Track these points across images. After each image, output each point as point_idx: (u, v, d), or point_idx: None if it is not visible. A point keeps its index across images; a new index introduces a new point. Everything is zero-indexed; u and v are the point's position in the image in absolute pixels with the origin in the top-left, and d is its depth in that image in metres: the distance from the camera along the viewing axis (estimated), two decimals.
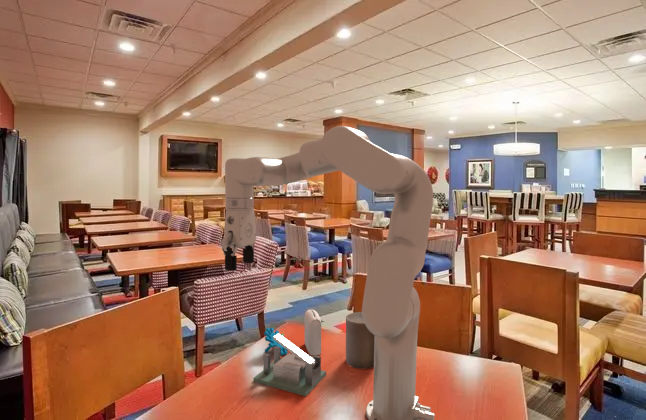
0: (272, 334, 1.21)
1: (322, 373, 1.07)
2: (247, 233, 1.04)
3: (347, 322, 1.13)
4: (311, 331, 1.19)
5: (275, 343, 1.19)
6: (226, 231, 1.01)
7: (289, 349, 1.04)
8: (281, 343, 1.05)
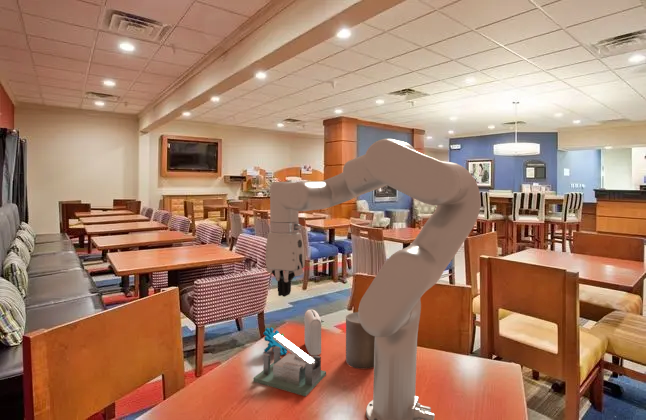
0: (272, 334, 1.21)
1: (322, 373, 1.07)
2: None
3: (347, 322, 1.13)
4: (311, 331, 1.19)
5: (274, 343, 1.19)
6: (298, 255, 1.01)
7: (289, 349, 1.04)
8: (281, 343, 1.05)
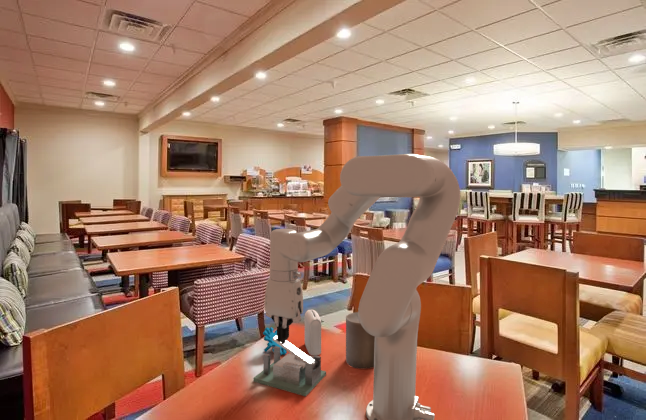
0: (271, 334, 1.21)
1: (322, 373, 1.07)
2: None
3: (347, 322, 1.13)
4: (311, 331, 1.19)
5: (274, 343, 1.19)
6: (297, 303, 1.02)
7: (289, 350, 1.04)
8: (281, 344, 1.05)
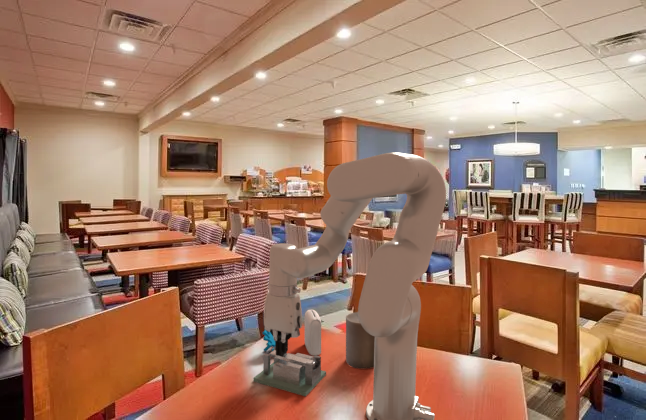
0: (271, 334, 1.22)
1: (322, 373, 1.07)
2: None
3: (347, 322, 1.13)
4: (311, 331, 1.19)
5: (273, 343, 1.19)
6: (295, 318, 1.02)
7: (287, 359, 1.04)
8: (278, 356, 1.06)
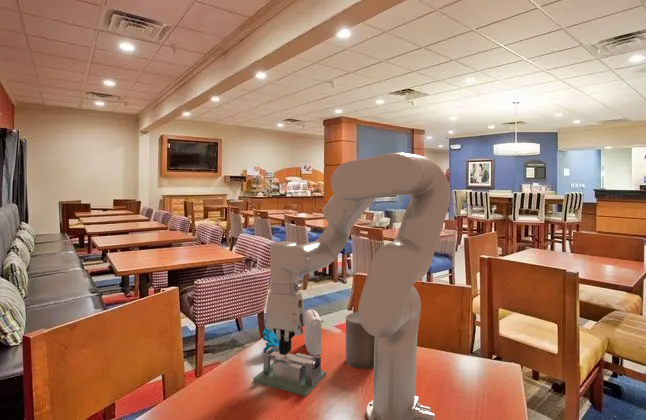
0: (271, 334, 1.22)
1: (322, 373, 1.07)
2: None
3: (347, 322, 1.13)
4: (311, 331, 1.19)
5: (273, 343, 1.19)
6: (298, 316, 1.02)
7: (287, 360, 1.04)
8: (278, 357, 1.06)
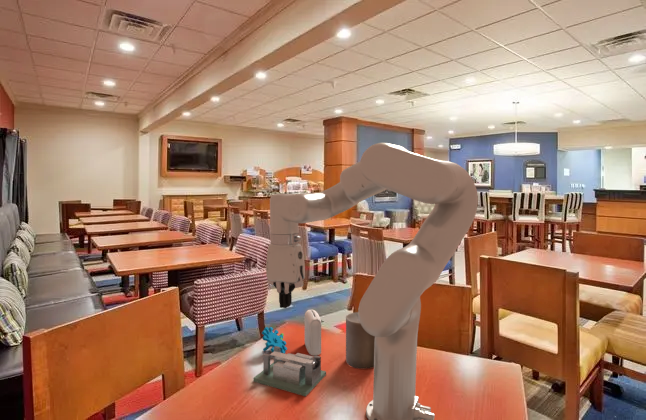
0: (270, 333, 1.22)
1: (322, 373, 1.07)
2: None
3: (347, 322, 1.13)
4: (311, 331, 1.19)
5: (272, 343, 1.19)
6: (298, 267, 1.01)
7: (287, 360, 1.04)
8: (278, 357, 1.06)
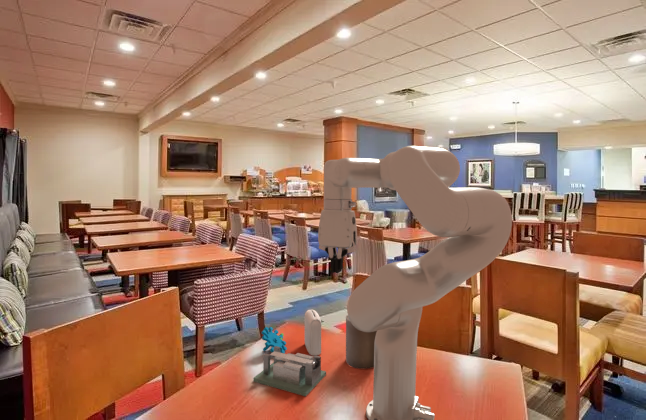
0: (270, 333, 1.22)
1: (322, 373, 1.07)
2: None
3: (347, 322, 1.13)
4: (311, 331, 1.19)
5: (272, 342, 1.19)
6: (352, 232, 1.02)
7: (287, 360, 1.04)
8: (278, 357, 1.06)
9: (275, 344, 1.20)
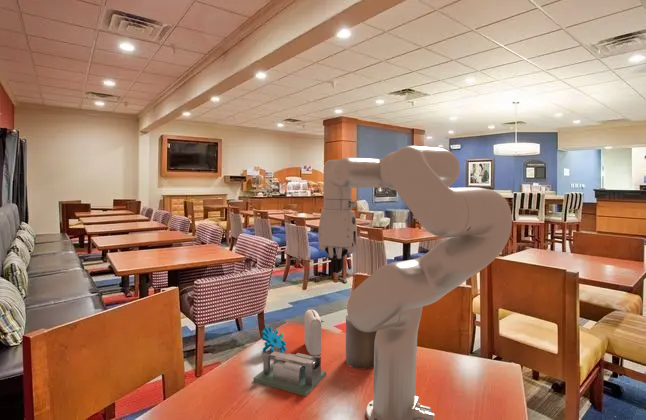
0: (270, 333, 1.22)
1: (322, 373, 1.07)
2: None
3: (347, 322, 1.13)
4: (311, 331, 1.19)
5: (272, 342, 1.19)
6: (352, 232, 1.02)
7: (287, 360, 1.04)
8: (278, 357, 1.06)
9: (275, 344, 1.20)
